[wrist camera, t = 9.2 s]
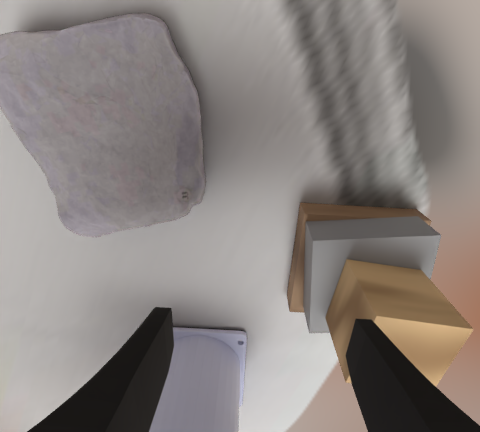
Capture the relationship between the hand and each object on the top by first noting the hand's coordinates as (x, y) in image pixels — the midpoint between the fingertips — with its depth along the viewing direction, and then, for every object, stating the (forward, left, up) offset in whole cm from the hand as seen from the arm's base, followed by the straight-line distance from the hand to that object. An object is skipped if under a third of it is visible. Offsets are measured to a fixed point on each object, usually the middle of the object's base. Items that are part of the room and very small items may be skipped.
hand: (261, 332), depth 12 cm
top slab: (-2, -7, -9) cm, 11 cm away
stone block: (+6, +8, -11) cm, 15 cm away
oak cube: (-3, -7, -6) cm, 10 cm away
